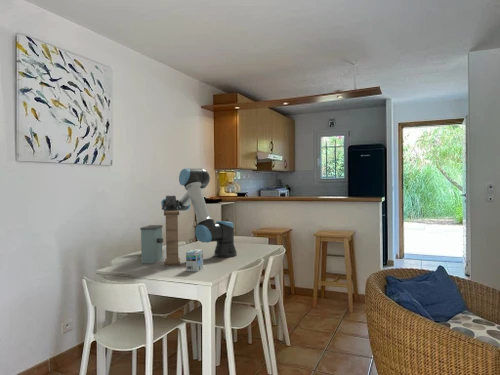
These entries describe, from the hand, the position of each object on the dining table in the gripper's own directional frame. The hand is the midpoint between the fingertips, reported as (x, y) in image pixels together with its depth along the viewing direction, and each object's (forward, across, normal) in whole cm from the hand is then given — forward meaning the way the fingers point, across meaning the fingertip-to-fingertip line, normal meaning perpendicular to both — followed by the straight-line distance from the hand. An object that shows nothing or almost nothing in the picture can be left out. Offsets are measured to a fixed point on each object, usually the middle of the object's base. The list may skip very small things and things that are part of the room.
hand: (170, 196), depth 251 cm
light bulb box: (+18, -13, -57) cm, 61 cm away
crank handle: (+2, 0, -6) cm, 6 cm away
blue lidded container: (-10, +11, -41) cm, 43 cm away
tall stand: (-1, 0, -46) cm, 46 cm away
